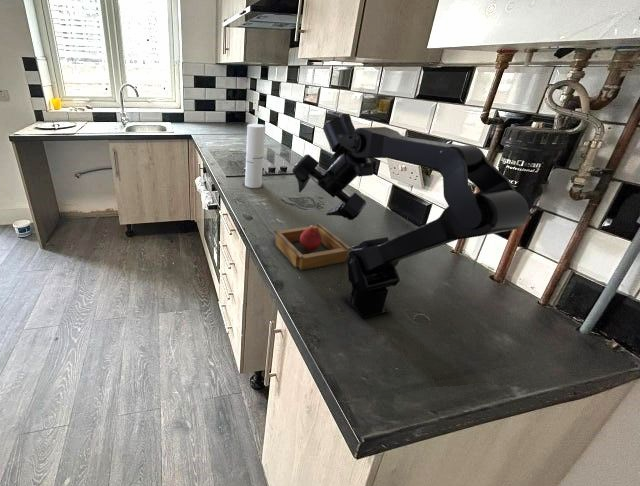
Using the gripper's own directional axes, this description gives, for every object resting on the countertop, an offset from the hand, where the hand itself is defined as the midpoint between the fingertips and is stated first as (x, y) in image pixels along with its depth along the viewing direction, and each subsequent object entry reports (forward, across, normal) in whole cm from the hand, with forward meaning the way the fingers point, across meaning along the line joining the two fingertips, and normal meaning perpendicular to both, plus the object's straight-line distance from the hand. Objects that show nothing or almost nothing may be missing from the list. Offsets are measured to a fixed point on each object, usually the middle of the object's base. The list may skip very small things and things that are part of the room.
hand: (313, 202), depth 85 cm
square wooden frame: (+10, -8, +6) cm, 14 cm away
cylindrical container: (+46, +23, -23) cm, 56 cm away
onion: (+10, -8, +6) cm, 15 cm away
